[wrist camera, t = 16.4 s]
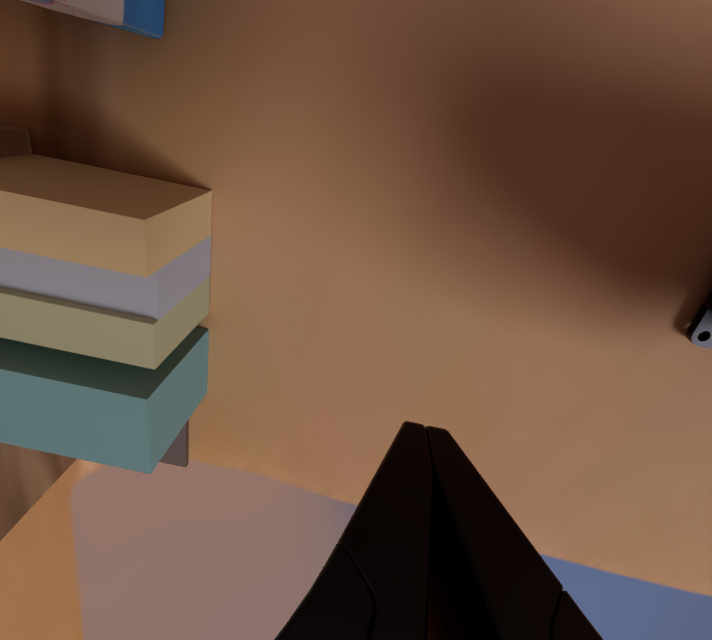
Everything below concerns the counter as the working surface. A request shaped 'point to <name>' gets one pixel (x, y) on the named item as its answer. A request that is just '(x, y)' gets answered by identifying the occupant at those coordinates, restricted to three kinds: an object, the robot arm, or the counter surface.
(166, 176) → the counter surface
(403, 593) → the robot arm
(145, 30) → the ink box
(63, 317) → the row of shelved books
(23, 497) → the walnut back wall
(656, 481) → the counter surface
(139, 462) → the grey teal rectangular block
